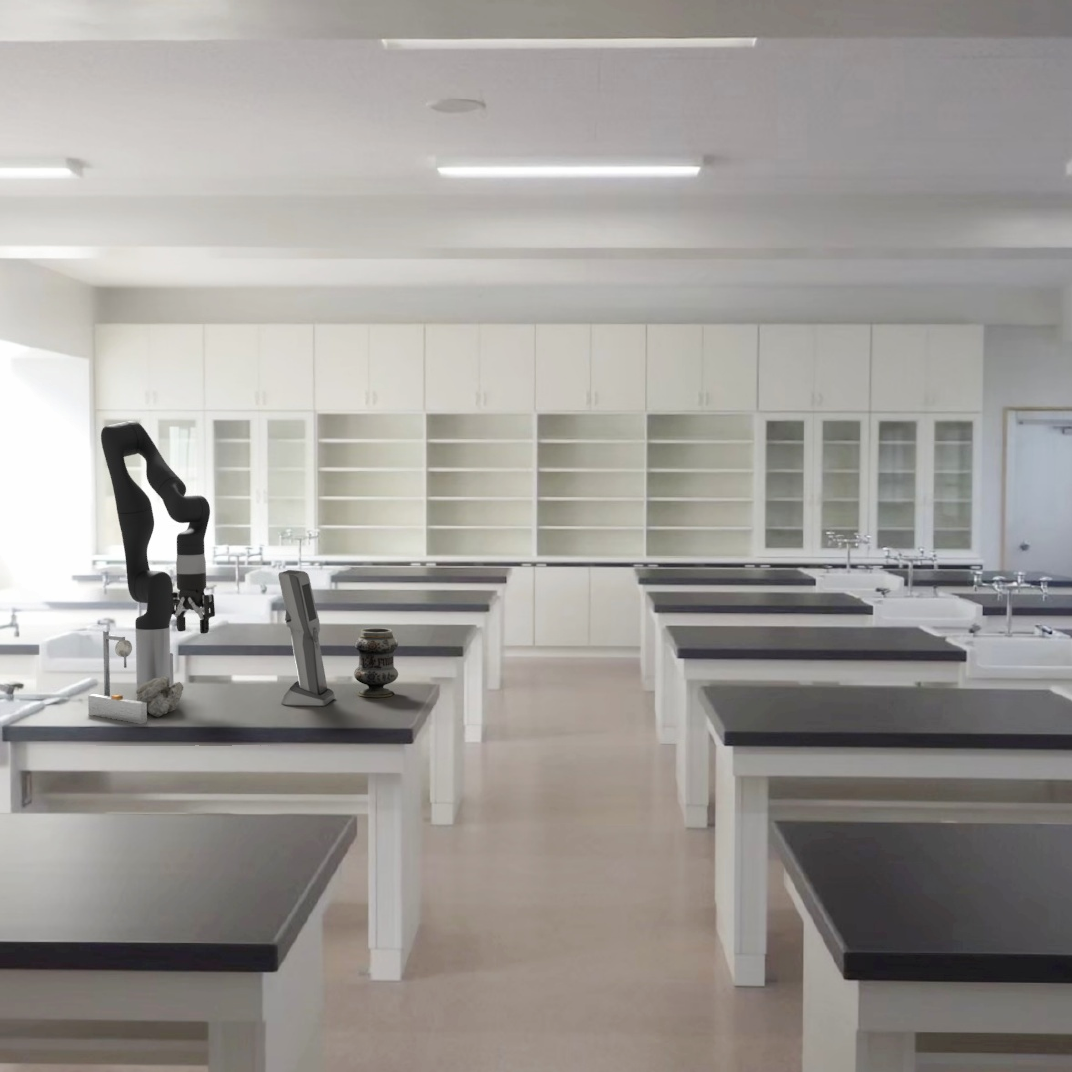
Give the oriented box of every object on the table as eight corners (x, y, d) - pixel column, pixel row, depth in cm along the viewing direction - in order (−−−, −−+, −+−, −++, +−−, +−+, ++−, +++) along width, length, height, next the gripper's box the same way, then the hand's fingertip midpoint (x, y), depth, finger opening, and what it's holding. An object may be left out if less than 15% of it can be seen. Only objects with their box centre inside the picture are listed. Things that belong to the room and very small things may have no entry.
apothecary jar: (395, 698, 342) (394, 632, 341) (350, 698, 343) (350, 632, 342) (400, 690, 355) (400, 626, 353) (358, 690, 355) (357, 626, 354)
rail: (94, 713, 323) (94, 690, 322) (147, 722, 312) (146, 699, 311) (88, 714, 321) (88, 692, 321) (140, 724, 310) (140, 700, 310)
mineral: (193, 695, 334) (174, 663, 333) (189, 705, 317) (168, 670, 316) (151, 720, 332) (131, 687, 331) (144, 730, 315) (123, 696, 314)
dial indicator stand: (109, 701, 338) (107, 628, 337) (136, 705, 332) (134, 632, 331) (90, 704, 333) (88, 631, 332) (117, 709, 327) (115, 634, 326)
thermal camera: (290, 697, 344) (288, 569, 342) (336, 698, 343) (335, 569, 341) (277, 705, 333) (275, 573, 331) (325, 706, 332) (323, 573, 329)
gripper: (221, 571, 334) (222, 632, 335) (183, 568, 341) (184, 628, 342) (199, 574, 327) (201, 636, 328) (161, 571, 335) (163, 632, 336)
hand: (192, 632), depth 335 cm, fingers open, 8 cm apart
